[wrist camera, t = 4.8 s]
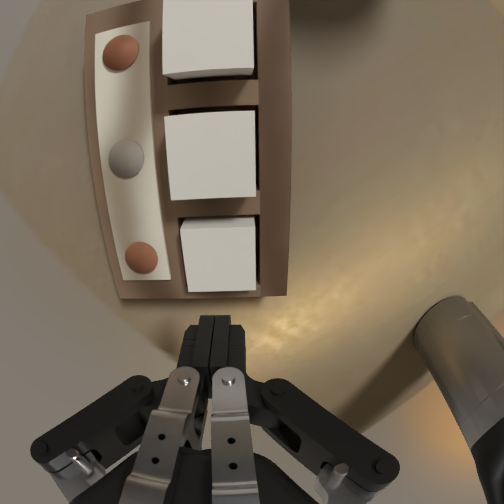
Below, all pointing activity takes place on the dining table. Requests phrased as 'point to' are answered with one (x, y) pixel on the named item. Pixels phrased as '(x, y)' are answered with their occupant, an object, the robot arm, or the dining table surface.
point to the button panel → (155, 155)
